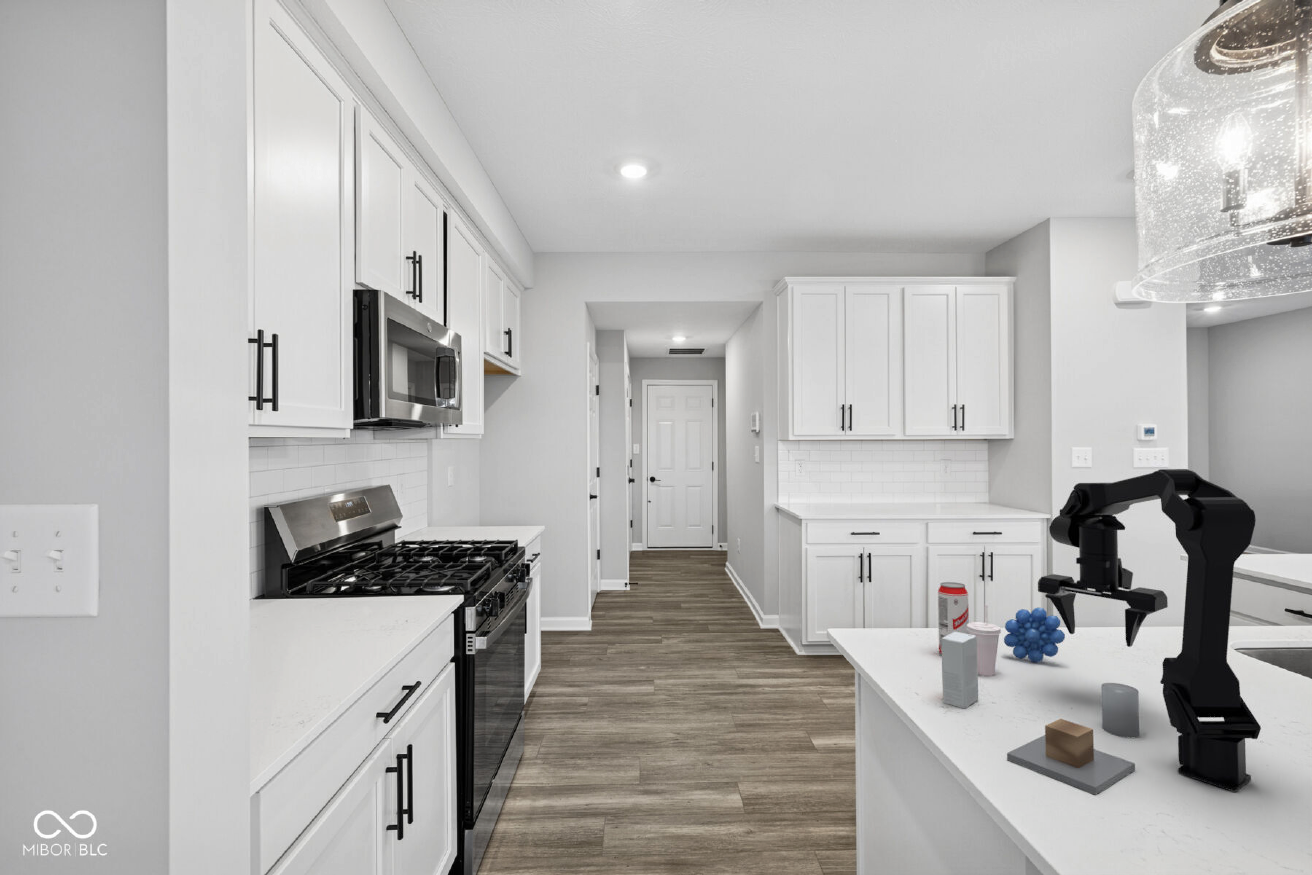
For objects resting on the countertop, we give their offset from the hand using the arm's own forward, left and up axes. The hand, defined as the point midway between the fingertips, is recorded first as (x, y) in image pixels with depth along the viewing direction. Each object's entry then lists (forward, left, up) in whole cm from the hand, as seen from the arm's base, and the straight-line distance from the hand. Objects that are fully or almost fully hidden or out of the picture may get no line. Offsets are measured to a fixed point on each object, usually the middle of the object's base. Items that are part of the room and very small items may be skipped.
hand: (1099, 639), depth 117 cm
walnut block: (-7, +27, -11) cm, 30 cm away
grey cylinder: (-6, +8, -12) cm, 16 cm away
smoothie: (+22, 0, -12) cm, 25 cm away
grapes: (+20, -16, -12) cm, 29 cm away
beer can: (+32, -5, -12) cm, 35 cm away
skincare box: (+16, +18, -12) cm, 27 cm away
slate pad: (-7, +27, -12) cm, 30 cm away
